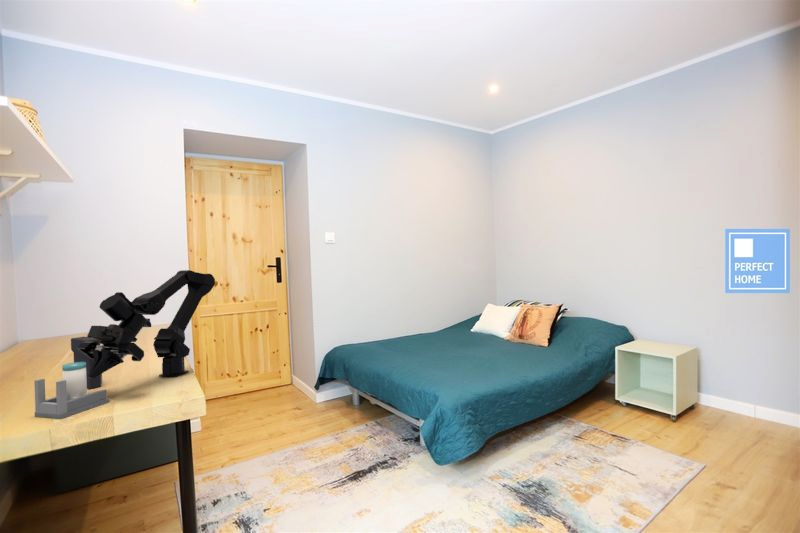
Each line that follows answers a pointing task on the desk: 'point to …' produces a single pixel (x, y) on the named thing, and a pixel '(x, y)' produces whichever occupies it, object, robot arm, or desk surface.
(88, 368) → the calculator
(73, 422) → the desk surface
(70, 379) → the teal-lidded white jar
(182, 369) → the robot arm
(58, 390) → the mount
